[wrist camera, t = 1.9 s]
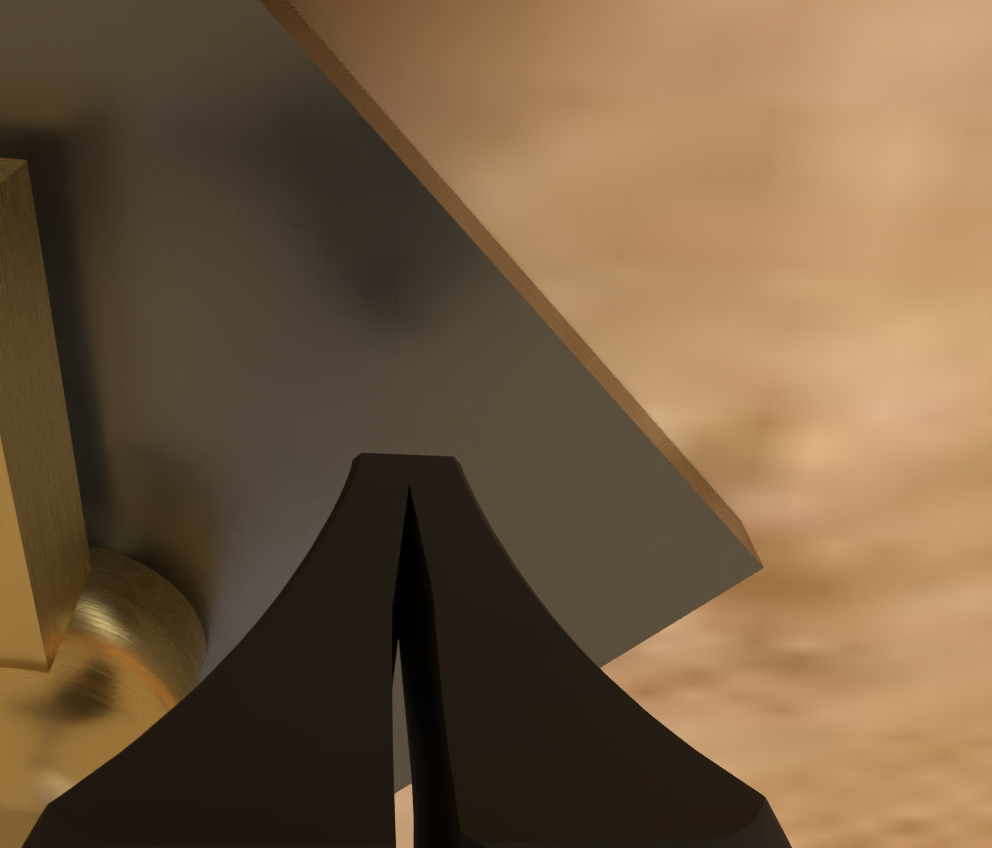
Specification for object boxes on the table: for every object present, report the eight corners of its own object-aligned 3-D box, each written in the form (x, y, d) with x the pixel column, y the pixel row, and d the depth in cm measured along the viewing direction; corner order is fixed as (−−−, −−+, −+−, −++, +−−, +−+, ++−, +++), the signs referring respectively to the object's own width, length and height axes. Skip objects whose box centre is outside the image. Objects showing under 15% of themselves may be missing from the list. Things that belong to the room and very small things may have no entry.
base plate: (120, 913, 26) (89, 1036, 23) (-803, 471, 17) (-1027, 592, 14) (741, 520, 20) (791, 625, 18) (-134, -481, 11) (-301, -575, 8)
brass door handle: (212, 729, 20) (182, 872, 17) (-42, 729, 19) (-113, 876, 16) (167, 156, 13) (108, 240, 11) (-216, 127, 13) (-381, 207, 10)
